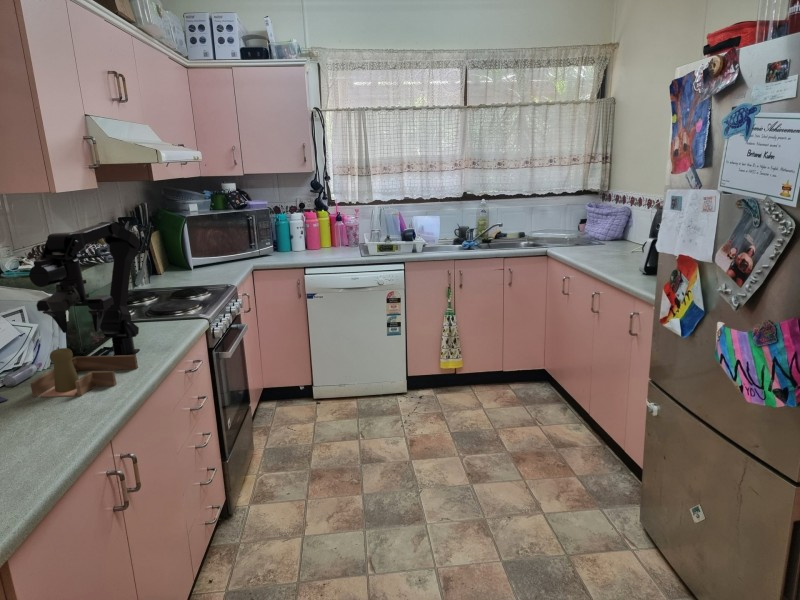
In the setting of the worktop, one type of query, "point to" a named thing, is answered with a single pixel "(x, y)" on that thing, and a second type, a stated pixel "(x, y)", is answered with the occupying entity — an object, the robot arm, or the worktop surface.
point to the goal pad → (58, 393)
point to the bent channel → (92, 377)
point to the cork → (63, 370)
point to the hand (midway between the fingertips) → (81, 332)
